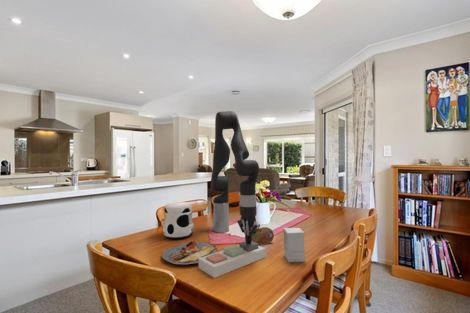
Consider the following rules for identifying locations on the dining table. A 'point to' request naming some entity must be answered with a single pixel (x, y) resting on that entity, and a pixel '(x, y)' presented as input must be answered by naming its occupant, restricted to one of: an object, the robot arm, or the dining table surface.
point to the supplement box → (294, 245)
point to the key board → (230, 262)
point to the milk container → (178, 220)
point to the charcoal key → (248, 246)
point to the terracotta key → (216, 258)
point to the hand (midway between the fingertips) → (248, 243)
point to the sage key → (233, 251)
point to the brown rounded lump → (263, 236)
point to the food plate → (188, 252)
